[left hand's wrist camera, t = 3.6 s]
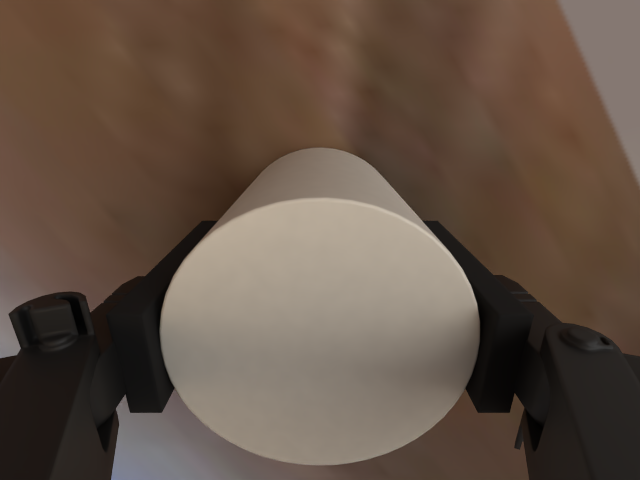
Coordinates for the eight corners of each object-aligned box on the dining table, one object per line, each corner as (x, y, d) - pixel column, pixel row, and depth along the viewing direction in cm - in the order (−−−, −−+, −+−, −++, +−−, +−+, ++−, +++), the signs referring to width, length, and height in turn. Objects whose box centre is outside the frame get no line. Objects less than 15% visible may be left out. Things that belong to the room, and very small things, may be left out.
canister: (378, 306, 18) (430, 481, 10) (235, 285, 18) (156, 448, 9) (416, 162, 16) (532, 230, 7) (249, 133, 15) (159, 168, 7)
